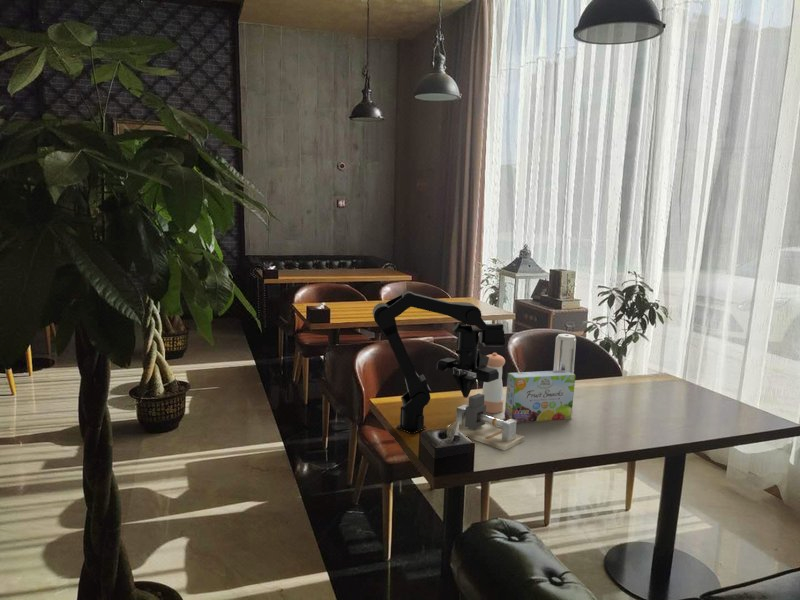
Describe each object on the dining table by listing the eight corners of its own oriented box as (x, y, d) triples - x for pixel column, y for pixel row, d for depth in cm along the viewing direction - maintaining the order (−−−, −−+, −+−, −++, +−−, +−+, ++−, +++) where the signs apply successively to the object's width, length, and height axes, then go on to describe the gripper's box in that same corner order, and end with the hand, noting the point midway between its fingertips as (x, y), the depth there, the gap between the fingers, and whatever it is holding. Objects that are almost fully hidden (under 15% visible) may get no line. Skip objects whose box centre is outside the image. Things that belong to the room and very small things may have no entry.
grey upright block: (465, 426, 165) (466, 396, 163) (476, 421, 169) (478, 392, 168) (473, 429, 163) (475, 399, 161) (485, 424, 167) (486, 395, 166)
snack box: (512, 424, 173) (515, 377, 171) (503, 418, 178) (506, 372, 176) (572, 419, 179) (576, 373, 177) (562, 413, 184) (566, 368, 182)
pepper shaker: (496, 414, 181) (499, 357, 178) (476, 409, 185) (479, 353, 182) (506, 409, 187) (510, 352, 184) (487, 404, 191) (490, 349, 188)
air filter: (568, 404, 193) (574, 333, 189) (572, 411, 186) (578, 337, 182) (549, 403, 193) (554, 332, 189) (552, 410, 187) (558, 336, 183)
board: (447, 429, 167) (447, 425, 167) (467, 421, 174) (467, 417, 174) (504, 450, 154) (505, 446, 153) (523, 440, 161) (524, 436, 161)
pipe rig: (456, 424, 168) (456, 407, 168) (464, 421, 171) (464, 404, 170) (507, 442, 156) (508, 424, 155) (515, 438, 159) (516, 420, 158)
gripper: (510, 347, 165) (507, 398, 167) (458, 336, 177) (456, 384, 180) (489, 354, 157) (486, 407, 159) (436, 342, 169) (434, 392, 171)
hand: (465, 397), depth 167 cm, fingers closed
